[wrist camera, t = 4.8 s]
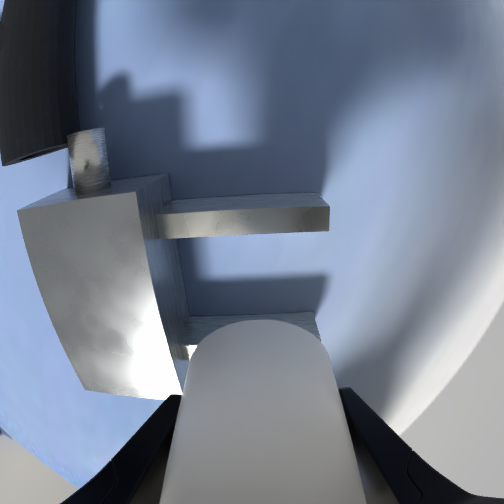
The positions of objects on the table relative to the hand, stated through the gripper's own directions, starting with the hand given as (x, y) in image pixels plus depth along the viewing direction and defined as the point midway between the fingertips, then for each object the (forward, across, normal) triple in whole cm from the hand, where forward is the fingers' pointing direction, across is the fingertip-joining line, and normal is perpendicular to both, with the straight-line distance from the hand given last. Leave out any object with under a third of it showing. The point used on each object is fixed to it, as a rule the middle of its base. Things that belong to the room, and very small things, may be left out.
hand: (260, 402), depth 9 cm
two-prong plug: (+10, +4, -2) cm, 11 cm away
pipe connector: (+10, +15, -16) cm, 24 cm away
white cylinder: (+1, 0, 0) cm, 1 cm away
